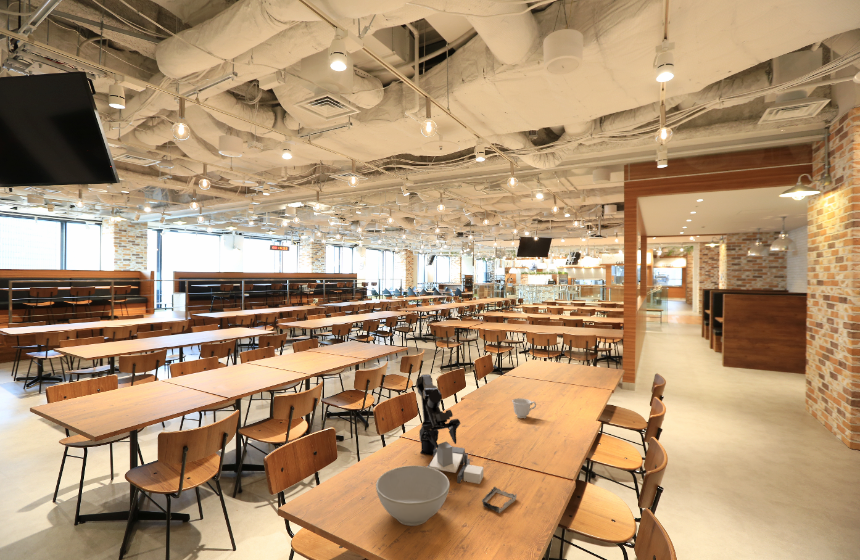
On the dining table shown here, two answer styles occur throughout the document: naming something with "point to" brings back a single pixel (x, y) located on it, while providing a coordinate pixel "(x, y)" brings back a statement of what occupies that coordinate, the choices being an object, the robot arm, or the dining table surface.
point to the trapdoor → (457, 460)
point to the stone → (444, 454)
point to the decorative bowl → (412, 493)
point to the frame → (461, 473)
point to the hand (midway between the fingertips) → (446, 445)
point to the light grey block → (473, 474)
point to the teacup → (522, 407)
